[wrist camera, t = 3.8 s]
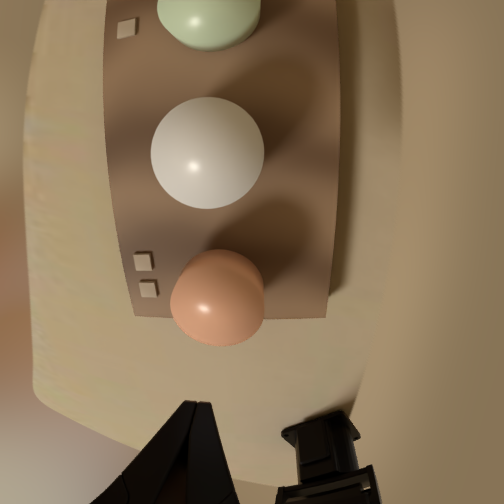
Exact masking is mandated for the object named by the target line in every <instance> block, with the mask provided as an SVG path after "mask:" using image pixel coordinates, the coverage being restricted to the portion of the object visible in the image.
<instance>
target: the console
mask: <svg viewBox="0 0 504 504" xmlns="http://www.w3.org/2000/svg"><path fill="white" fill-rule="evenodd" d="M157 3H158V0H107V6H106V17H105V31H104V53H103V103H104V125H105V141H106V153H107V164H108V173H109V182H110V190H111V198H112V205H113V212H114V218H115V224H116V230H117V236H118V242H119V247H120V252H121V258H122V263H123V267H124V272H125V277H126V281H127V286H128V290H129V294H130V298H131V303H132V307H133V310H134V314H135V316H144V317H164V318H173V316H172V313H171V308H170V299H171V294H172V292H173V289H174V287H175V285H176V283H177V281H178V278H179V276H180V274H181V272H182V270H183V268H184V266H185V265H186V264H187V262H188V261H189V260H190V259H192V258H193V257H194V256H196V255H198V254H200V253H202V252H205V251H208V250H215V249H223V250H229V251H233V252H236V253H238V254H241V255H243V256H244V257H246V258H247V259H249V260H250V261H251V262H252V263H253V264H254V265H255V266H256V267H257V269H258V270H259V272H260V274H261V276H262V279H263V284H264V310H265V311H264V318H263V319H302V318H325V317H326V310H327V302H328V294H329V286H330V278H331V268H332V259H333V249H334V238H335V226H336V212H337V197H338V179H339V155H340V62H339V40H338V23H337V10H336V0H261V3H260V18H259V22H258V24H257V26H256V28H255V30H254V31H253V32H252V34H251V35H250V36H249V37H248V38H247V39H245V40H244V41H243V42H241V43H240V44H238V45H236V46H234V47H232V48H229V49H226V50H222V51H216V52H203V51H197V50H194V49H191V48H189V47H187V46H185V45H183V44H182V43H181V42H180V41H178V40H177V39H176V38H175V37H174V36H173V35H172V34H171V33H170V32H169V31H168V30H167V29H166V28H165V27H164V26H163V24H162V23H161V21H160V19H159V16H158V12H157ZM201 97H215V98H221V99H225V100H228V101H230V102H232V103H234V104H236V105H238V106H240V107H241V108H242V109H243V110H245V111H246V112H247V113H248V114H249V115H250V116H251V117H252V118H253V120H254V121H255V123H256V124H257V126H258V128H259V130H260V133H261V136H262V139H263V144H264V161H263V166H262V169H261V172H260V175H259V177H258V179H257V181H256V182H255V184H254V185H253V187H252V188H251V189H250V190H249V191H248V192H247V193H246V194H245V195H244V196H243V197H241V198H240V199H238V200H237V201H235V202H233V203H231V204H229V205H226V206H223V207H219V208H213V209H201V208H194V207H191V206H188V205H185V204H183V203H181V202H179V201H177V200H176V199H174V198H173V197H172V196H170V195H169V194H168V193H167V192H166V191H165V190H164V189H163V187H162V186H161V185H160V183H159V181H158V180H157V178H156V175H155V173H154V170H153V167H152V162H151V145H152V140H153V136H154V134H155V131H156V129H157V127H158V125H159V124H160V122H161V121H162V119H163V118H164V117H165V116H166V115H167V114H168V113H169V112H170V111H171V110H172V109H174V108H175V107H176V106H178V105H180V104H181V103H183V102H186V101H188V100H191V99H195V98H201Z"/></svg>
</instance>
